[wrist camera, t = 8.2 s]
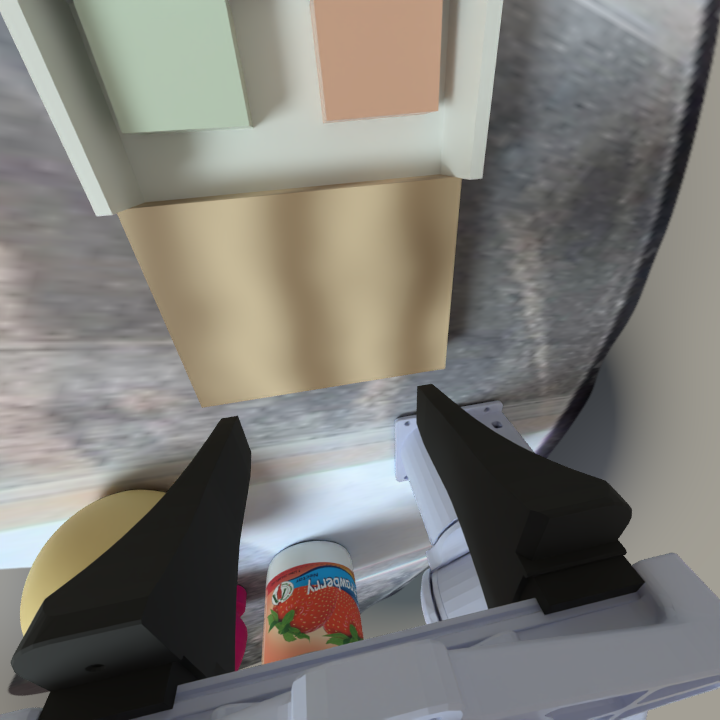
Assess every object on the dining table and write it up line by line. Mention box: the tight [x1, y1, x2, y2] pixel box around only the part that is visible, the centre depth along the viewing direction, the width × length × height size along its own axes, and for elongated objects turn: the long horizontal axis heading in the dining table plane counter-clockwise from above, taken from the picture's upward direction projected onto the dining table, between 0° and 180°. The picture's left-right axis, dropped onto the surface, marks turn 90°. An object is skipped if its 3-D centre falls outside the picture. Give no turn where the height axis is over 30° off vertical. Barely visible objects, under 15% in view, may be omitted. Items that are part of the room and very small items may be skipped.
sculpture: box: [20, 490, 166, 636], centre depth 25 cm, size 12×12×11 cm
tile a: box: [309, 0, 443, 124], centre depth 14 cm, size 5×4×2 cm
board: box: [117, 174, 462, 408], centre depth 20 cm, size 16×12×2 cm
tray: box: [0, 0, 503, 216], centre depth 14 cm, size 16×8×4 cm, turn 94°
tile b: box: [73, 0, 254, 135], centre depth 13 cm, size 5×4×2 cm
